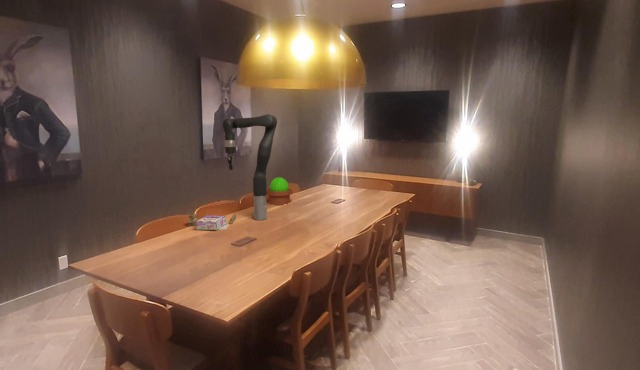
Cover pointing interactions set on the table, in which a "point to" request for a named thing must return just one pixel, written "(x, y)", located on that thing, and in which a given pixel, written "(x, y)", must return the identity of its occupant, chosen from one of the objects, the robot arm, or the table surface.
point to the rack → (230, 218)
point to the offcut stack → (192, 220)
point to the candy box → (211, 222)
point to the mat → (221, 227)
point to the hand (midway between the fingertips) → (231, 169)
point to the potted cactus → (279, 192)
